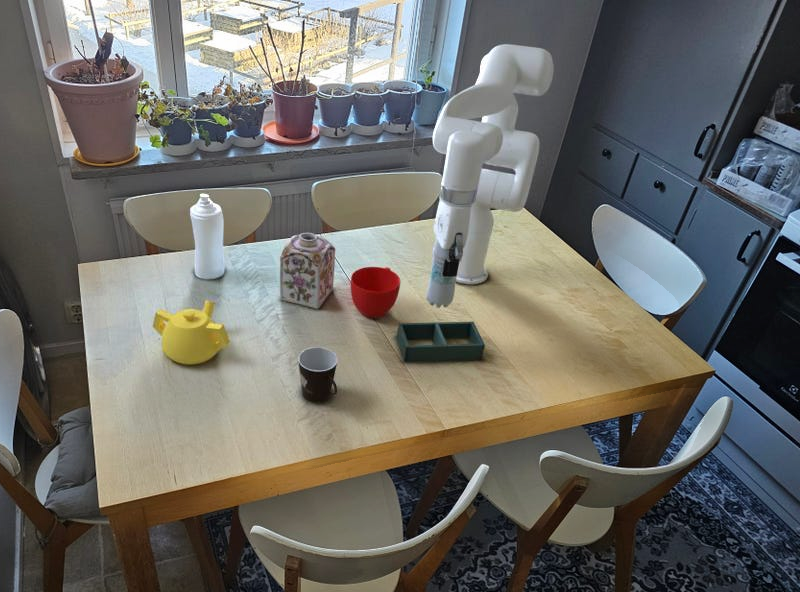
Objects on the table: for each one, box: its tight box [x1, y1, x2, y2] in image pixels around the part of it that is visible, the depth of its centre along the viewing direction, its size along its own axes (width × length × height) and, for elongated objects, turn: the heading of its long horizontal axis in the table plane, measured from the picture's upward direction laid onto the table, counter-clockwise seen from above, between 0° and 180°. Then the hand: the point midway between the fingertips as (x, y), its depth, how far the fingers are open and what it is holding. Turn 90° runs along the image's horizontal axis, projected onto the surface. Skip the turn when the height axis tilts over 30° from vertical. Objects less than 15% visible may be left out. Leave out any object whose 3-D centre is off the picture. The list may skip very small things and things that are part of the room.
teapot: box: [152, 300, 231, 366], centre depth 153 cm, size 20×18×11 cm
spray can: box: [189, 193, 226, 280], centre depth 175 cm, size 12×11×25 cm
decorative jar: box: [279, 232, 336, 310], centre depth 171 cm, size 12×12×18 cm
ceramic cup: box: [350, 266, 401, 319], centre depth 169 cm, size 13×17×10 cm
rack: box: [396, 321, 486, 363], centre depth 157 cm, size 10×19×4 cm, turn 95°
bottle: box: [426, 238, 462, 309], centre depth 144 cm, size 7×7×20 cm
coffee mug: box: [297, 346, 339, 404], centre depth 139 cm, size 12×9×10 cm
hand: (445, 266), depth 144 cm, fingers closed on bottle, 6 cm apart
